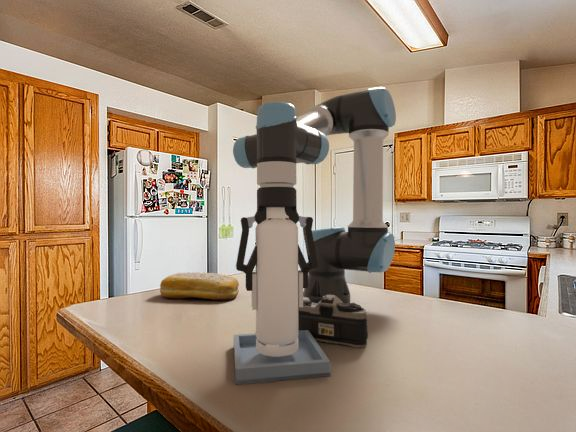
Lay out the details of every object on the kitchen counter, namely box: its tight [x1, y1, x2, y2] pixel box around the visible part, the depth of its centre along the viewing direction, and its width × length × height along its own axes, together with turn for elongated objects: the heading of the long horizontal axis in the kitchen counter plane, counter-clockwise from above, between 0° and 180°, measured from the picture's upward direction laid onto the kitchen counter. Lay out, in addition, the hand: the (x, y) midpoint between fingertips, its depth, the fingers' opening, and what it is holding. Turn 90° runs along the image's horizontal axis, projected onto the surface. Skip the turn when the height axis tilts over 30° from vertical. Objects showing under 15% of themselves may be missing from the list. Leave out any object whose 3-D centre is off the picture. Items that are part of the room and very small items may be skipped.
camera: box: [298, 295, 369, 349], centre depth 76 cm, size 16×10×10 cm, turn 67°
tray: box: [233, 330, 331, 385], centre depth 64 cm, size 16×16×2 cm
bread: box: [159, 271, 240, 301], centre depth 114 cm, size 13×26×8 cm, turn 84°
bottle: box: [255, 207, 299, 357], centre depth 64 cm, size 8×8×28 cm
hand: (277, 306), depth 64 cm, fingers closed on bottle, 8 cm apart
